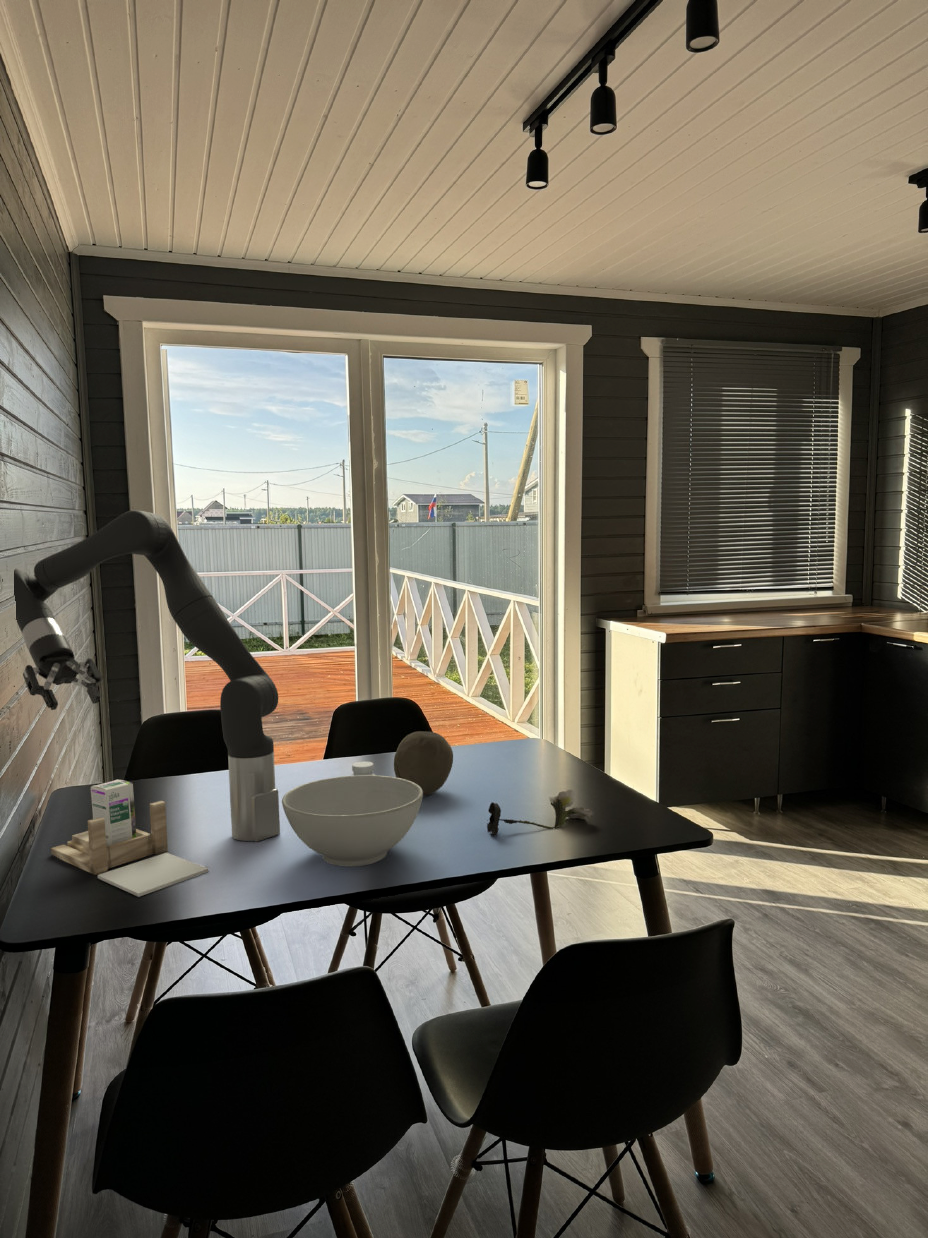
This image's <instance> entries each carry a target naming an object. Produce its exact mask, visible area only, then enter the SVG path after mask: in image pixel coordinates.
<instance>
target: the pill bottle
mask: <svg viewBox="0 0 928 1238" xmlns="http://www.w3.org/2000/svg"><path fill="white" fill-rule="evenodd" d="M351 770H352V772H353V774H350V776H357V775H376V774H375V773H373V771H374V770H375V769H374V763H373V762H371V761H357V762H353V763H352V766H351Z"/></svg>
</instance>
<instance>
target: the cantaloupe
mask: <svg viewBox="0 0 928 1238" xmlns="http://www.w3.org/2000/svg"><path fill="white" fill-rule="evenodd" d="M452 748H453V747H452V746H451V744H450V742H449V741H447V740H446V738H445V737H443V735H441V734H440V733H437V732H433V731H420V730H419V731H414V732H411V733H409V734H407V735H405V737H404V738H402V740H401V741H400V743H399V744H398V747H397V749H396V751H395V754H394V758H393V770H394V771H393V772H394V775H395V777H396V778H401V779H405V780H408V781H411V782H414V783H415V784H417V785H419V786H420V787H421V789H422V791H423V797H427V796H430V795H431V794H434V793H436V792H438V791H439V790H440V789H441V788H442V787H443V786H444V784H445V783H446V782H447V780H448V778H449V775H450V774H451V770H452V768H453V764H454V752H453V749H452Z"/></svg>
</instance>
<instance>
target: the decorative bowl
mask: <svg viewBox="0 0 928 1238" xmlns="http://www.w3.org/2000/svg"><path fill="white" fill-rule="evenodd" d="M423 797H424V796H423V791H422V789H421V787H420V786H419V785H417V784H415V783H414V782H411V781H408V780H405V779H401V778H396V776H395V777H394V776H388V775H387V776H386V775H376V774H375V775H357V776H351V775H346V776H345V775H344V776H335V777H329V778H324V779H319V780H314V781H310V782H307V783H304V784H301V785H299V786H296V787H293V788H292V789H290V790H288V791H287V792H285V794H284V795H283V797H282V799H281V804H282V808H283V812H284V814H285V817H286V819H287V821H288V823H289V825H290V827H291V829H292V830H293V832H294V833H295V834H296V836H297V837H298V838H299V840H301V842H302V843H304V844H305V845H306V847H308V848H309V849H310V850H312V851H313V852H315V853H317V854H319V855H321V856H322V859H323V860H324V861H325V862H326V863H328V864H330V865H333V866H337V867H351V868H352V867H360V866H361V867H362V866H367V865H371V864H375V863H377V862H380V861H382V860H383V859H384V858H385V857H387V855H388V851H390V850H391V849H392V848H393V847H396V845H397V844H399V843H400V842H401V840H403V838H404V837H405V836H406V835H407V834H408V832H409V831H410V829H411V828H412V826H413V824H414V823H415V820H416V819H417V816H418V814H419V812H420V809H421V805H422V801H423Z"/></svg>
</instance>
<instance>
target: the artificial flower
mask: <svg viewBox="0 0 928 1238" xmlns="http://www.w3.org/2000/svg"><path fill="white" fill-rule="evenodd" d="M549 801H550V805H551V806H552V807H553V809H554V814H555V819H554V821H555V822H554V826H548V825H544V824H540V823H537V822H530V821H528V820H517V819H506V818H505V819H503V818H502V819H500V818H501V816H502V815H501V813H502V809H501V807H500V805H499V804H498V803H496V802H491V803H490V805H489V807H488V813H489V814H490V816H489V822H488V819H487V820H486V821H487V822H488V823H486V828H487V833H490V835H492V836H496V835H497V834H498V832H499V823H500V821H502V822H504V823H505V824H508V825H512V824H517V823H518V824H519V823H521V824H523V825H524V824H526V825H532V826H536V827H540V828H543V829H547V830H554V829H553V828H555V829H557V828H559V827H561V826H563V825H565V823H566V820H567V818H568V819H571V818H579V820H586V819H587V818H592V817H593V816H594V812H593V811H592V810H591V809H590V808H589V809H585V808H584V807H583V806H577V807H572V808H570V809H567V808H569V807H571V806H572V805H574V803H575V801H576V793H575V792H574V790H573V788H570V789H568V790H565V791H560V792H558V795H557V796H556V795H555V796H549ZM586 817H587V818H586Z"/></svg>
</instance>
